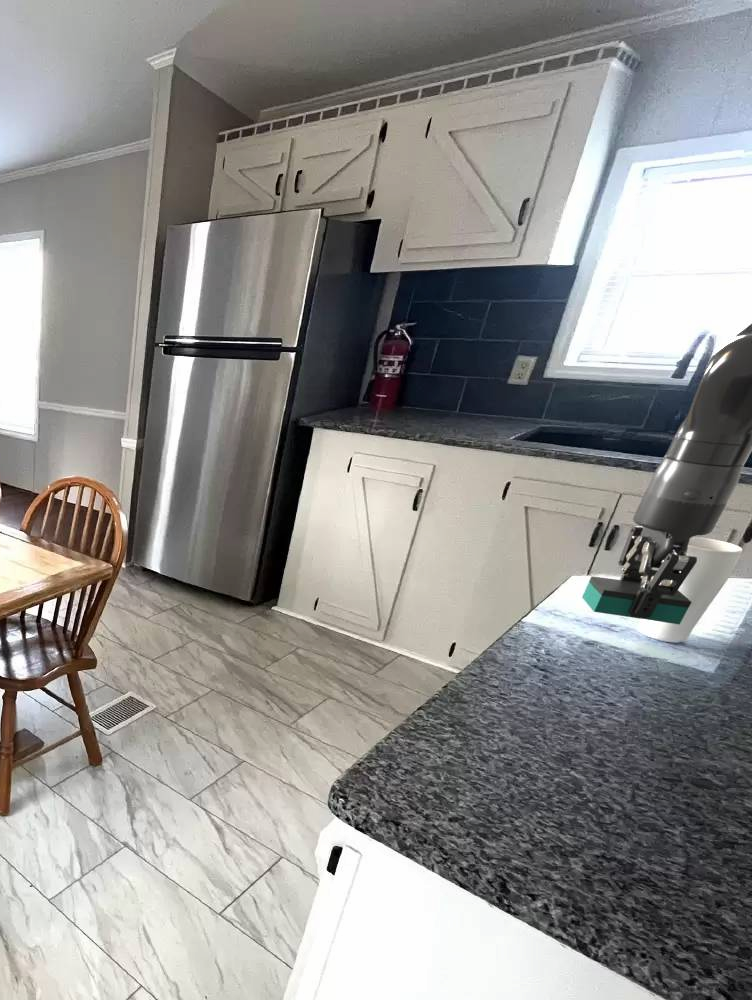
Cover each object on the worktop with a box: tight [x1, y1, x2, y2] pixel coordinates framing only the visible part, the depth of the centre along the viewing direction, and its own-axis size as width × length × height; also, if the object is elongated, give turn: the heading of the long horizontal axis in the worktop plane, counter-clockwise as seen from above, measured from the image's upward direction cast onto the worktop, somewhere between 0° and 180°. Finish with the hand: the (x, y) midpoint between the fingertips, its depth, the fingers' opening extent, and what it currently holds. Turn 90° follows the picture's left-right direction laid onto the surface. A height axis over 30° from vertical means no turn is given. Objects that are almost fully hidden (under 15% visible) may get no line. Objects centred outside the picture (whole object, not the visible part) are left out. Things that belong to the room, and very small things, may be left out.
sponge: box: [582, 575, 692, 624], centre depth 91 cm, size 9×6×4 cm, turn 62°
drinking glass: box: [637, 536, 744, 644], centre depth 93 cm, size 7×7×15 cm
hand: (630, 607), depth 91 cm, fingers closed on sponge, 5 cm apart
